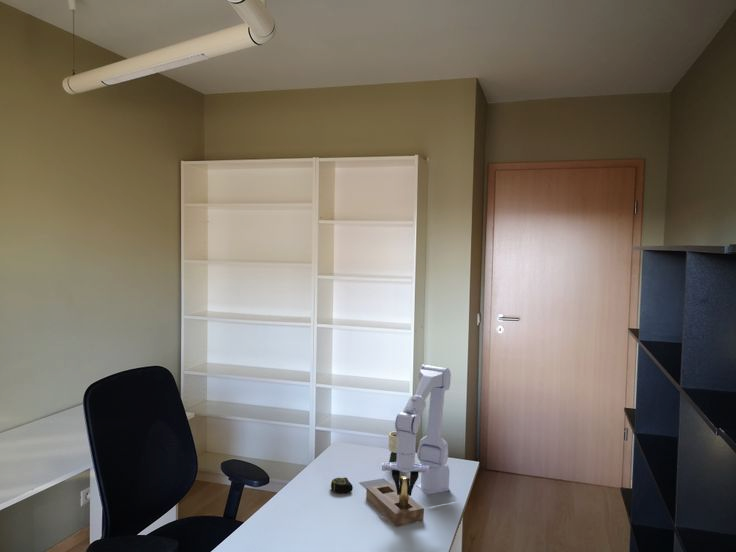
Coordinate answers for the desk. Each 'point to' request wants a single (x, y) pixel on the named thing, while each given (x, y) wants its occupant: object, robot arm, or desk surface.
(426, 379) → the robot arm
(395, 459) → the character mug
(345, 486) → the tape measure
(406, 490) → the brass pin
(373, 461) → the desk surface
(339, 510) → the desk surface
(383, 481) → the rubber mat
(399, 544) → the desk surface
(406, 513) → the block
